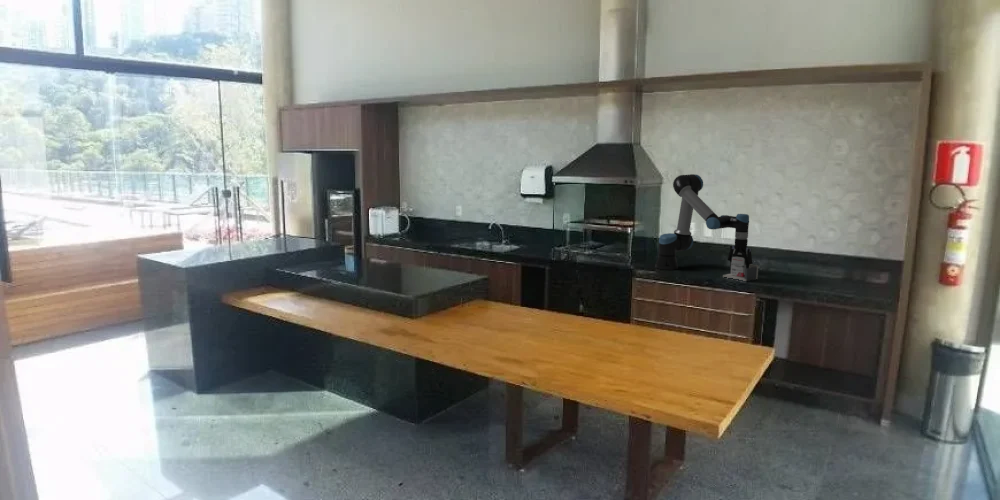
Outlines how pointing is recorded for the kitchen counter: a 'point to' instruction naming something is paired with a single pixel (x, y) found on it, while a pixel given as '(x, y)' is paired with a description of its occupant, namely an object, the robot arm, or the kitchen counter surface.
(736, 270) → the ink box
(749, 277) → the shelf
